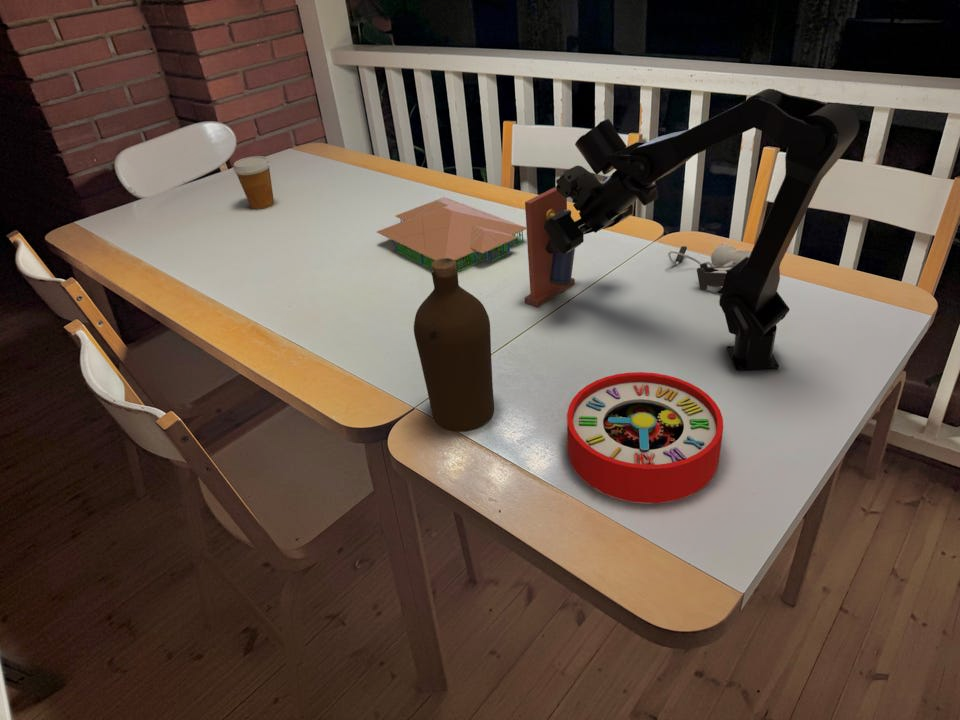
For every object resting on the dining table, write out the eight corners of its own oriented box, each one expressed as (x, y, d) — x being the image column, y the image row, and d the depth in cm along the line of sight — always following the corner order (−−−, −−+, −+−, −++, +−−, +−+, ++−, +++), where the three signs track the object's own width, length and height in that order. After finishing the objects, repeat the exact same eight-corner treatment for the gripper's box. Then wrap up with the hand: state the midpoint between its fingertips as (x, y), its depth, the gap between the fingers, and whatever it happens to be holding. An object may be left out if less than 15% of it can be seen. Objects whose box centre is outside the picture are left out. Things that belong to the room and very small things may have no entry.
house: (454, 283, 140) (449, 246, 135) (368, 239, 162) (362, 206, 158) (537, 245, 151) (535, 209, 147) (446, 209, 173) (442, 177, 169)
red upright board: (590, 289, 133) (589, 188, 122) (552, 313, 126) (548, 209, 115) (562, 279, 137) (559, 181, 126) (524, 302, 131) (518, 201, 120)
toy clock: (714, 373, 97) (733, 472, 81) (710, 406, 101) (728, 507, 84) (570, 370, 101) (562, 465, 85) (571, 402, 104) (563, 499, 88)
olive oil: (502, 430, 100) (487, 276, 87) (429, 440, 100) (403, 286, 86) (494, 387, 109) (479, 241, 95) (427, 396, 109) (402, 251, 95)
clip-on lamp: (656, 284, 138) (733, 296, 123) (650, 255, 135) (728, 264, 121) (694, 259, 143) (773, 268, 128) (689, 230, 140) (769, 236, 125)
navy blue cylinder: (558, 277, 130) (567, 206, 124) (575, 283, 128) (584, 210, 122) (539, 282, 127) (547, 209, 121) (556, 288, 124) (565, 214, 118)
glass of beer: (237, 211, 186) (224, 167, 180) (257, 197, 194) (245, 155, 187) (268, 212, 183) (256, 167, 177) (286, 198, 191) (275, 155, 184)
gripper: (620, 139, 119) (570, 189, 132) (550, 172, 108) (503, 223, 121) (657, 192, 118) (604, 237, 131) (591, 230, 108) (540, 275, 121)
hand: (563, 241), depth 126 cm, fingers open, 9 cm apart
